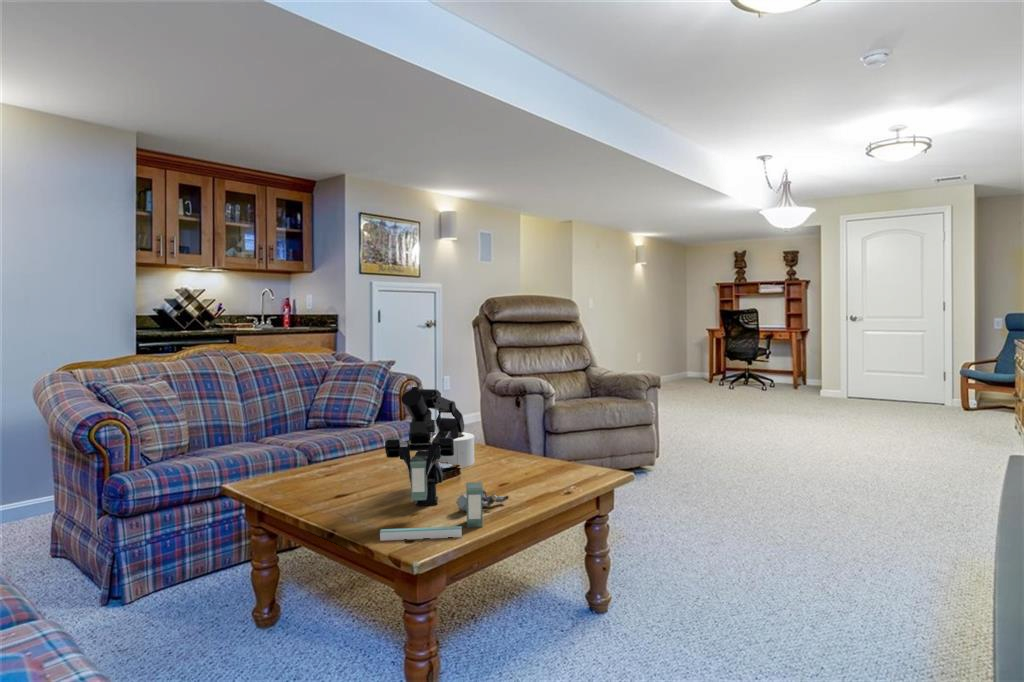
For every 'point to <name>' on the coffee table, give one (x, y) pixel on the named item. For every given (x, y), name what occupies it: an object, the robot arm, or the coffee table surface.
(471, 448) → the object
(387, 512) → the coffee table surface
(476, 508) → the twin tin
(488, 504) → the toy
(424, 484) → the tea tin
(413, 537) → the rail
